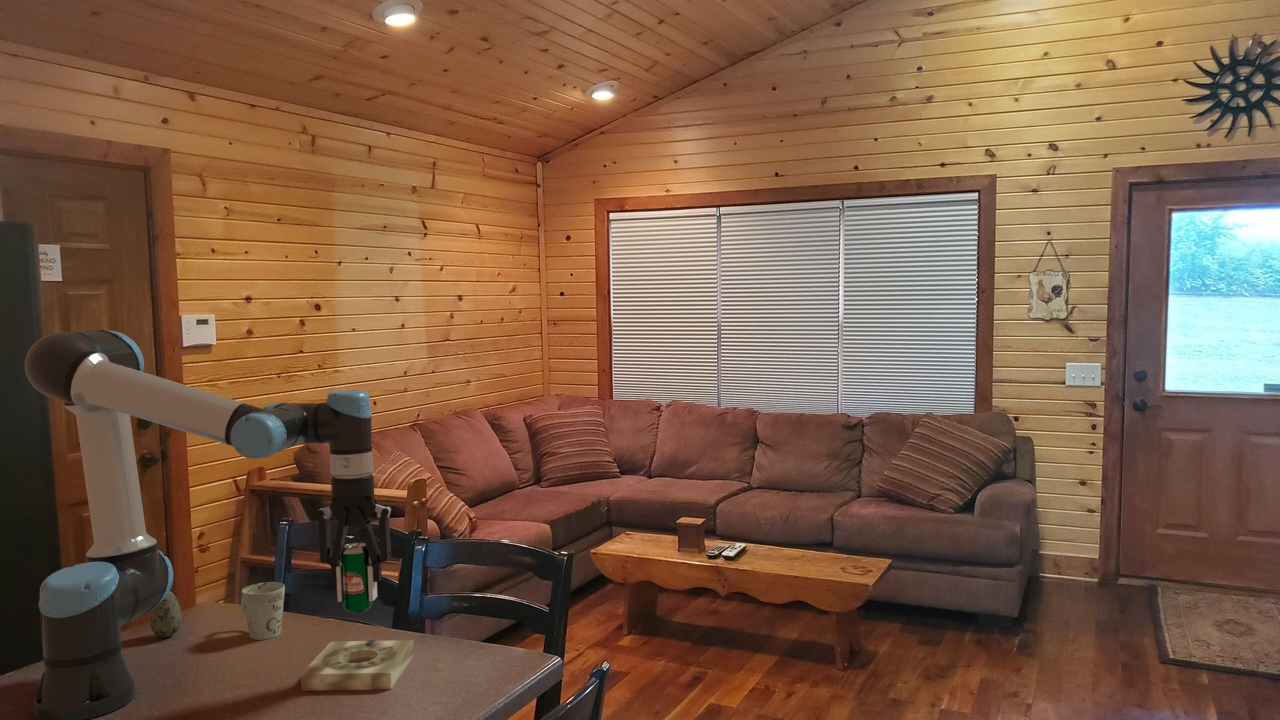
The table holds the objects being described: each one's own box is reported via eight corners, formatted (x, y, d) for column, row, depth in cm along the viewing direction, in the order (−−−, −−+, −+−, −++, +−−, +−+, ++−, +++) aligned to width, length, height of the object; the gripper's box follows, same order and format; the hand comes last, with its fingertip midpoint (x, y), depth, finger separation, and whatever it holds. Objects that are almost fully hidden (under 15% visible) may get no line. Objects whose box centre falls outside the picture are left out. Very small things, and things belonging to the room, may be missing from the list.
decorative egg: (168, 630, 198) (165, 584, 198) (189, 633, 196) (186, 586, 195) (144, 639, 193) (141, 592, 192) (165, 643, 190) (162, 595, 190)
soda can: (338, 613, 170) (335, 548, 170) (352, 604, 175) (349, 541, 175) (363, 614, 169) (361, 549, 169) (377, 605, 174) (374, 542, 173)
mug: (260, 645, 188) (257, 596, 188) (223, 634, 195) (221, 587, 195) (295, 632, 195) (293, 585, 195) (258, 622, 202) (256, 577, 201)
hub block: (301, 690, 165) (300, 673, 165) (331, 656, 181) (331, 640, 181) (391, 689, 165) (390, 671, 165) (413, 655, 181) (413, 639, 181)
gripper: (295, 479, 167) (301, 606, 169) (395, 477, 167) (401, 604, 168) (310, 472, 175) (316, 593, 176) (406, 470, 174) (411, 591, 176)
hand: (357, 598), depth 172 cm, fingers closed on soda can, 5 cm apart
